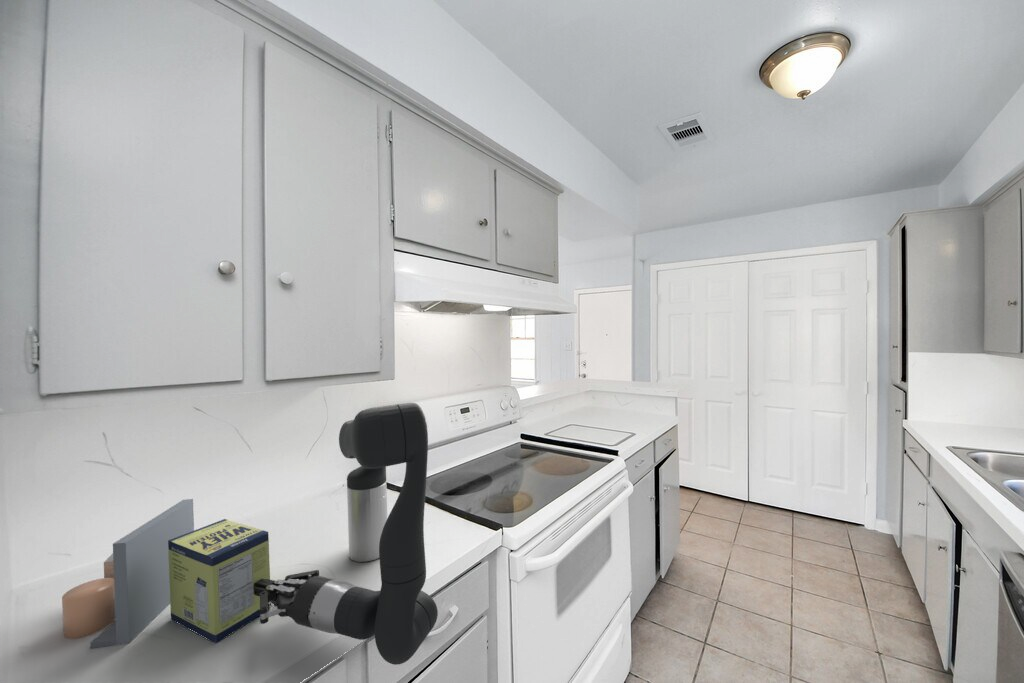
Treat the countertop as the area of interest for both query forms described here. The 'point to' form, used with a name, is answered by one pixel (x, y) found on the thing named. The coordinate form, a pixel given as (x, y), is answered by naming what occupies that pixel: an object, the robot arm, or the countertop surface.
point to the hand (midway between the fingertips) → (257, 586)
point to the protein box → (217, 577)
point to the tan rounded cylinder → (88, 608)
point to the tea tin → (109, 568)
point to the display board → (144, 573)
